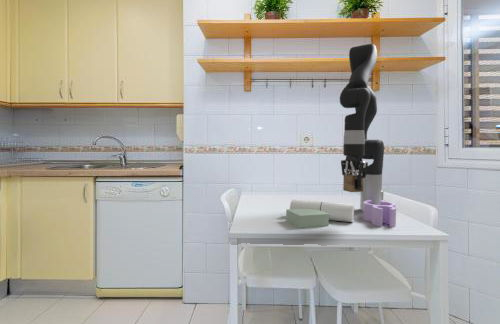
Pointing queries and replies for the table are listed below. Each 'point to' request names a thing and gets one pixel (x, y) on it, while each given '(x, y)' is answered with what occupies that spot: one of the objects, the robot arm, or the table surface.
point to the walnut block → (351, 183)
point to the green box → (307, 218)
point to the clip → (380, 213)
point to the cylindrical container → (327, 209)
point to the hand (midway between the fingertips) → (353, 188)
